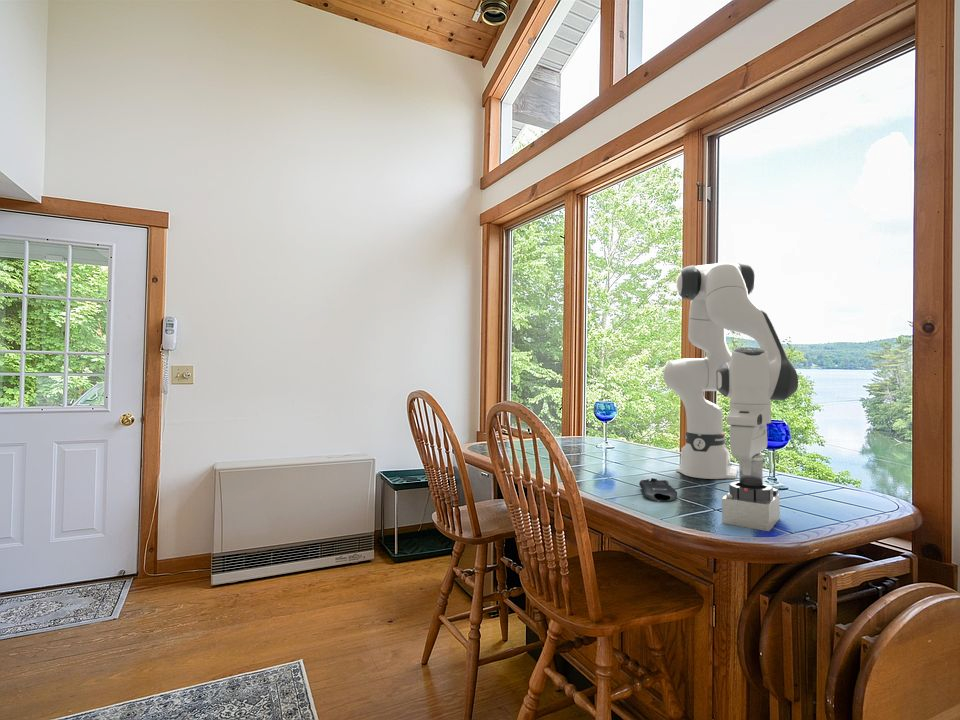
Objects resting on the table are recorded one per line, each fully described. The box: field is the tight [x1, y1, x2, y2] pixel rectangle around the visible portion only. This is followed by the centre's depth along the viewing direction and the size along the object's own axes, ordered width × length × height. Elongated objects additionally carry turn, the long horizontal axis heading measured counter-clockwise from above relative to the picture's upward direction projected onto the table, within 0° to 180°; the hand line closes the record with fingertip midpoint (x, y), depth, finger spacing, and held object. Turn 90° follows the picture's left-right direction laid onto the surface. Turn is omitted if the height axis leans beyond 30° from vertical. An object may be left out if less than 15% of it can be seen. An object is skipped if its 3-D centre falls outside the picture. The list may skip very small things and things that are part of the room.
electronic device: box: [639, 477, 678, 503], centre depth 154 cm, size 9×6×15 cm
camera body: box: [721, 480, 781, 532], centre depth 129 cm, size 13×10×9 cm
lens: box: [738, 453, 764, 486], centre depth 129 cm, size 5×5×7 cm
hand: (750, 472), depth 129 cm, fingers closed on lens, 5 cm apart
